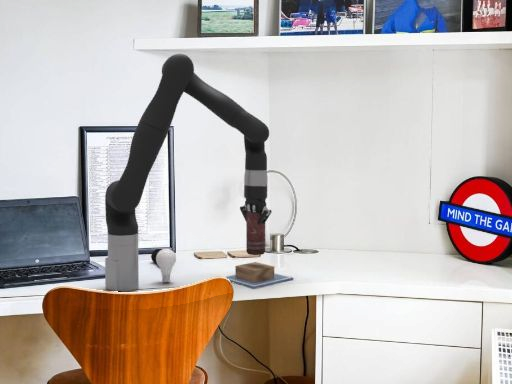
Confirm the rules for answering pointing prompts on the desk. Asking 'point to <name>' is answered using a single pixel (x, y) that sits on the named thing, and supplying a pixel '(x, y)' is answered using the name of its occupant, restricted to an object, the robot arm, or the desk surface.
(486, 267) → the desk surface
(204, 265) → the desk surface
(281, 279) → the board
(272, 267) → the plinth
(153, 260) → the microphone
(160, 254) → the lightbulb
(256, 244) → the maroon rounded block
